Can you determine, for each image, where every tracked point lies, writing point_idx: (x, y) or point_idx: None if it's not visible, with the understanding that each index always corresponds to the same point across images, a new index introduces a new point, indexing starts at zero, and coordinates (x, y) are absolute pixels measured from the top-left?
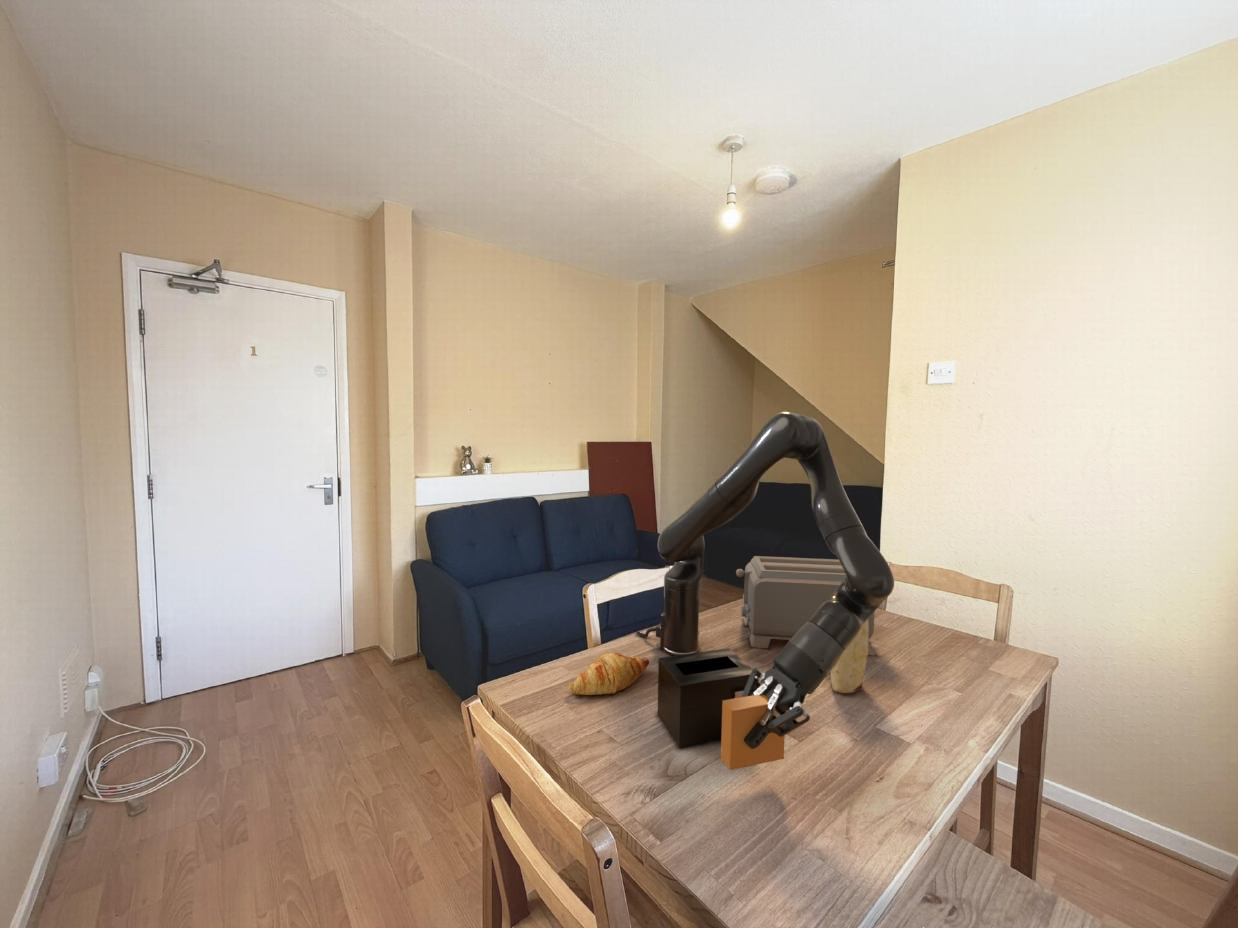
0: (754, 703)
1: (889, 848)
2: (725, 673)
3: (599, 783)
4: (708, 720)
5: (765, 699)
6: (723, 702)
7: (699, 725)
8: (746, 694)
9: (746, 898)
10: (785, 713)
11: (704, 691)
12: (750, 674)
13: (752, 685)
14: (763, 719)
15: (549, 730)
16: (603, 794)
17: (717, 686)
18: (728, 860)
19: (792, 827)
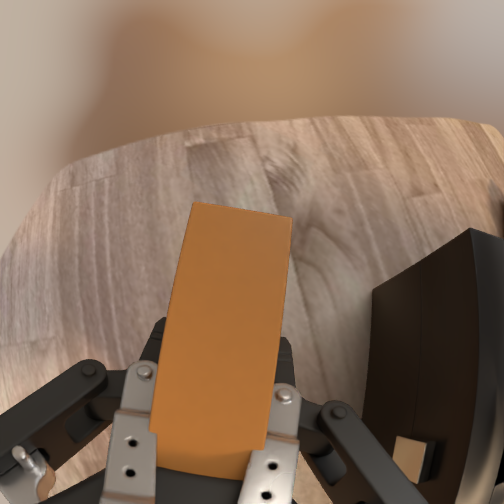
0: (188, 363)
1: None
2: (491, 425)
3: (327, 131)
4: (397, 355)
5: (196, 454)
6: (280, 218)
7: (393, 330)
8: (338, 425)
9: (58, 198)
10: (36, 424)
11: (454, 328)
12: (419, 494)
13: (358, 474)
14: (140, 373)
15: (439, 136)
16: (304, 125)
17: (459, 378)
18: (105, 210)
19: (91, 356)
